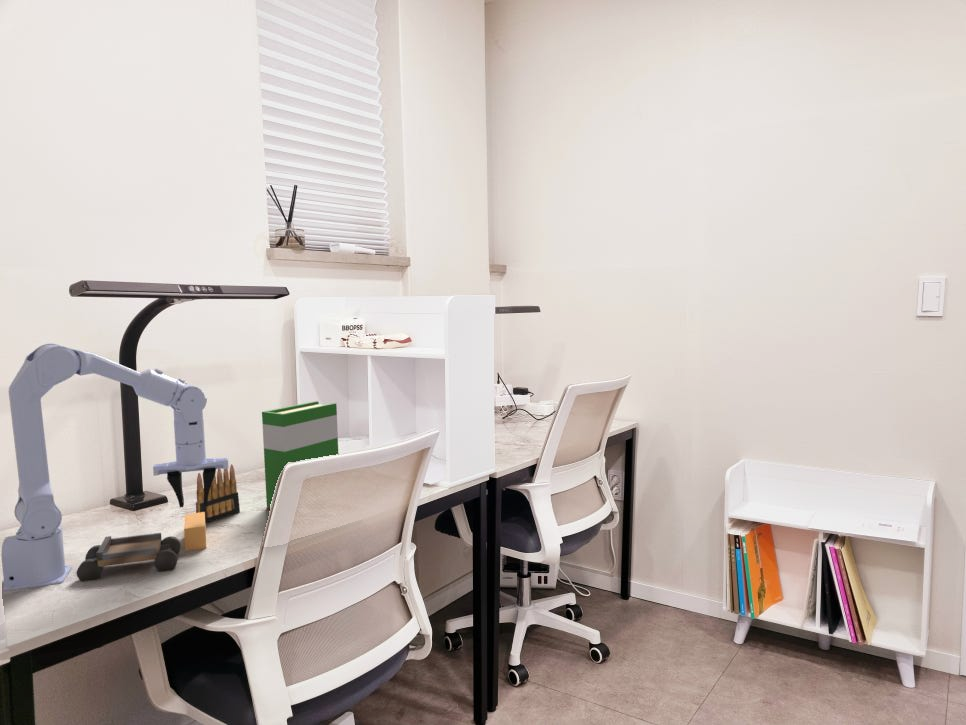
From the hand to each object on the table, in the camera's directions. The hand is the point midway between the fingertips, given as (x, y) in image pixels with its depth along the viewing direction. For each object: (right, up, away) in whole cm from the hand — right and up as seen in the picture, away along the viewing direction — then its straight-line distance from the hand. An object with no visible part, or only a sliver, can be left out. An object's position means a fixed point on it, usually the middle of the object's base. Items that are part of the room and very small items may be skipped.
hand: (193, 504), depth 148 cm
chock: (0, -8, +2) cm, 9 cm away
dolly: (-7, -10, -12) cm, 17 cm away
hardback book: (+16, -5, +29) cm, 34 cm away
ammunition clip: (-1, -7, +17) cm, 18 cm away
